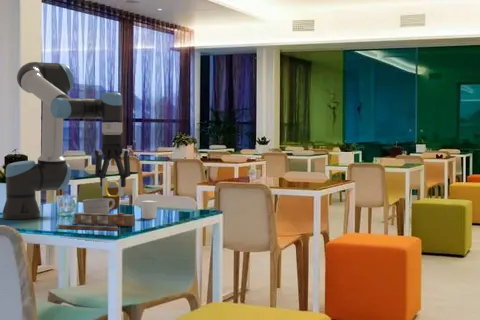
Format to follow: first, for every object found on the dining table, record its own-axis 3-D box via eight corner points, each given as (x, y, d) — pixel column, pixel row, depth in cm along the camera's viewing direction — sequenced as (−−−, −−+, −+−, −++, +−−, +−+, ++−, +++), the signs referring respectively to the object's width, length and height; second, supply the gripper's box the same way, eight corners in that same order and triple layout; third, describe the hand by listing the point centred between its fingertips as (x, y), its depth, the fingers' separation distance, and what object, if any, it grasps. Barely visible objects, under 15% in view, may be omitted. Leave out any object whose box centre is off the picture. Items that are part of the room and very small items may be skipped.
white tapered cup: (154, 219, 291) (154, 202, 291) (138, 218, 292) (138, 201, 292) (159, 216, 298) (159, 200, 297) (144, 216, 299) (143, 199, 299)
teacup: (86, 220, 288) (86, 200, 287) (79, 217, 297) (79, 198, 297) (120, 218, 294) (119, 198, 294) (112, 215, 304) (111, 196, 303)
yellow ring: (121, 197, 267) (122, 181, 267) (118, 197, 265) (119, 181, 264) (107, 195, 269) (108, 179, 269) (103, 196, 267) (104, 180, 266)
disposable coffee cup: (119, 209, 323) (119, 183, 323) (99, 209, 324) (98, 183, 323) (123, 206, 333) (123, 181, 332) (103, 207, 333) (103, 181, 332)
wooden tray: (58, 228, 266) (58, 216, 266) (78, 222, 281) (78, 211, 280) (117, 230, 260) (117, 218, 259) (134, 225, 274) (134, 213, 274)
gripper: (84, 134, 265) (85, 196, 266) (131, 134, 260) (132, 197, 261) (94, 133, 272) (95, 194, 273) (139, 133, 267) (140, 195, 268)
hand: (113, 195), depth 267 cm, fingers closed on yellow ring, 6 cm apart
